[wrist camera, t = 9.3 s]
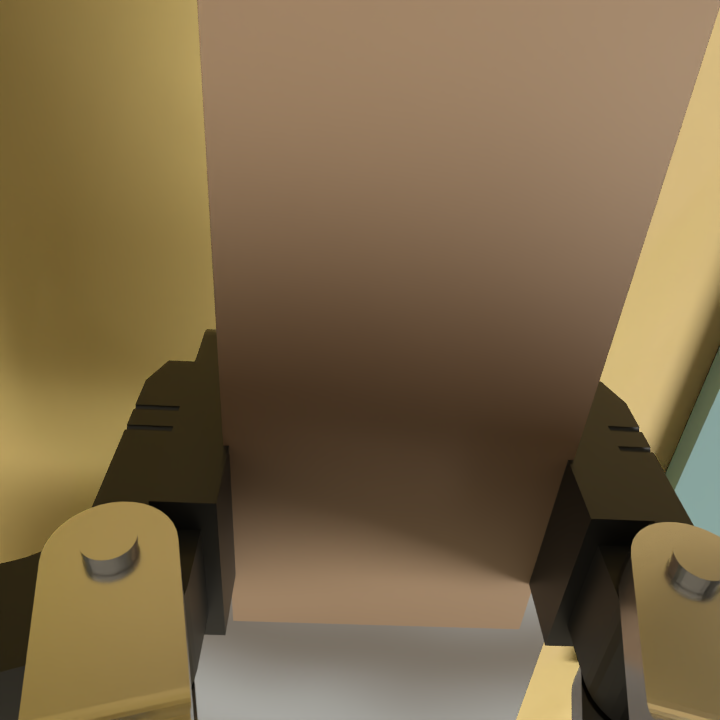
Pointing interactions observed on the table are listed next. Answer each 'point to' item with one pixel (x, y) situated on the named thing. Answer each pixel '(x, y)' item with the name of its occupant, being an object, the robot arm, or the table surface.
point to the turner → (416, 324)
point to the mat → (700, 457)
